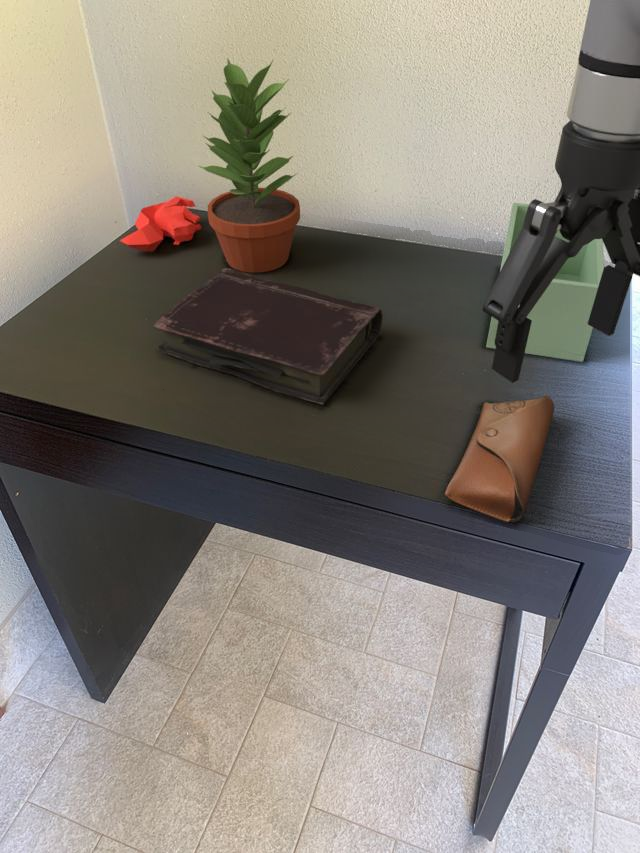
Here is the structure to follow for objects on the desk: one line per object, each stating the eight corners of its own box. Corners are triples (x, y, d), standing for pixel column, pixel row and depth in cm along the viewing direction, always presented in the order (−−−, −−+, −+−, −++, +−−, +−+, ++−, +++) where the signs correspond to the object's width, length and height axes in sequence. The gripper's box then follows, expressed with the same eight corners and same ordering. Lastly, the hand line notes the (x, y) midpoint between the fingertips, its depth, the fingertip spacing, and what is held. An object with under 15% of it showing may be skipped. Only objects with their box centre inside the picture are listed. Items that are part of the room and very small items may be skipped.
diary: (230, 293, 104) (227, 263, 101) (381, 334, 95) (383, 303, 92) (154, 357, 92) (148, 325, 88) (320, 411, 83) (320, 378, 79)
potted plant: (216, 237, 118) (194, 42, 98) (303, 238, 118) (299, 43, 98) (201, 280, 107) (173, 70, 87) (298, 281, 106) (291, 71, 87)
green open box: (582, 362, 90) (605, 288, 83) (485, 347, 93) (499, 274, 85) (583, 279, 106) (601, 211, 99) (500, 269, 109) (512, 202, 102)
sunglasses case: (481, 398, 83) (517, 366, 79) (525, 433, 84) (564, 404, 79) (440, 499, 71) (481, 469, 66) (492, 538, 72) (536, 512, 67)
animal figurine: (113, 256, 113) (106, 227, 110) (156, 219, 124) (151, 191, 121) (175, 266, 111) (171, 237, 107) (214, 227, 121) (211, 199, 118)
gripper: (671, 87, 61) (606, 296, 75) (461, 144, 50) (432, 375, 64) (751, 108, 56) (666, 328, 70) (538, 176, 45) (489, 418, 60)
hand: (554, 351), depth 67 cm, fingers open, 13 cm apart
